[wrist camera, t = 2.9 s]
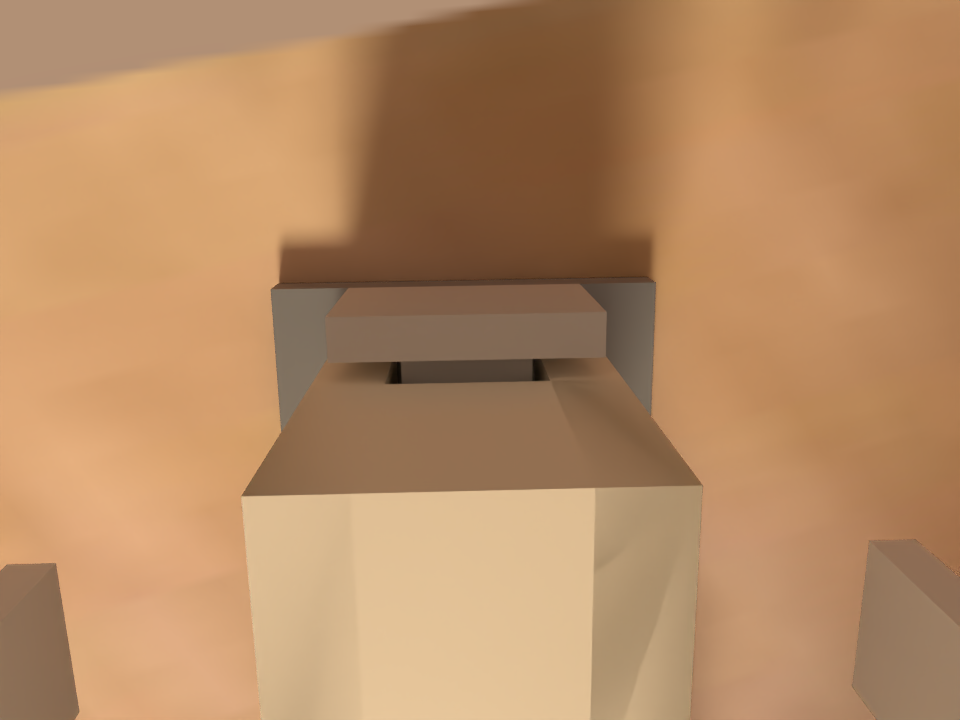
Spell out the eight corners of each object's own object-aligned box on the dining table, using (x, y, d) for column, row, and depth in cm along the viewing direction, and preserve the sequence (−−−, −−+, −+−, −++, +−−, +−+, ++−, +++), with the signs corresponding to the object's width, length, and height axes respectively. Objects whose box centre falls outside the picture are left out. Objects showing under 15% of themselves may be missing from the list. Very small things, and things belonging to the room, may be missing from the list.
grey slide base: (647, 276, 23) (699, 310, 18) (627, 853, 27) (664, 1005, 22) (278, 283, 22) (229, 318, 18) (320, 864, 27) (291, 1020, 22)
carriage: (595, 342, 22) (703, 485, 12) (591, 552, 23) (684, 824, 14) (334, 347, 22) (241, 496, 12) (346, 558, 23) (270, 838, 14)
